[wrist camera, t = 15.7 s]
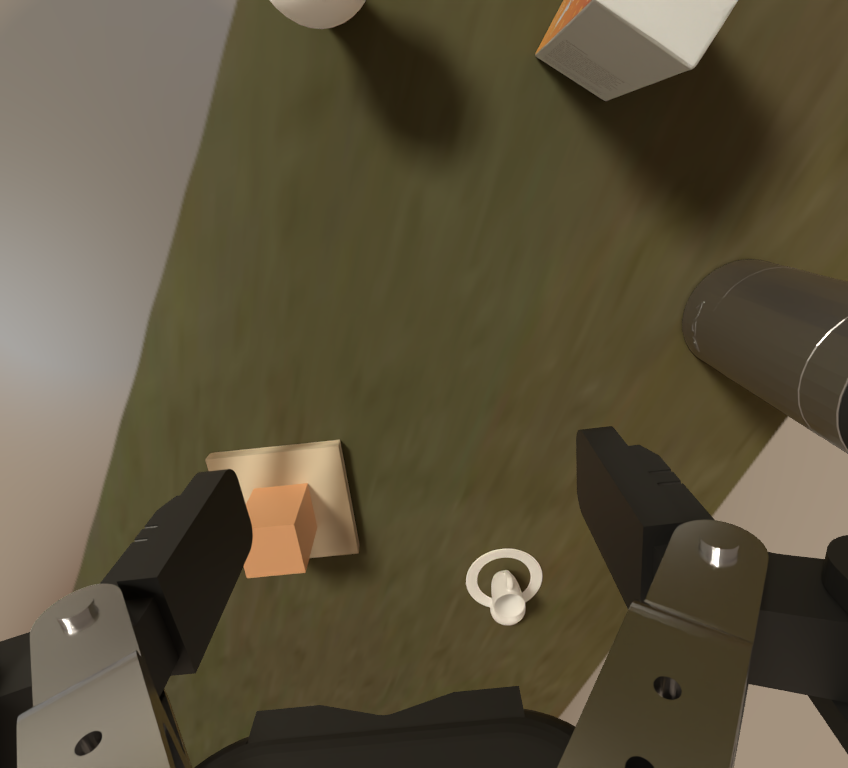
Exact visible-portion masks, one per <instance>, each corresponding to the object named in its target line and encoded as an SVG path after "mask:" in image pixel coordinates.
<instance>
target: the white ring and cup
mask: <svg viewBox="0 0 848 768" xmlns="http://www.w3.org/2000/svg"><path fill="white" fill-rule="evenodd" d="M503 557H509V558H515V559H518V560H520V561H522V562H523V563H524V564H525V565H526V566H527V567H528V568H529V570H530V574H531V580H530V583H529V585H528V587H527V588H526V590H525V591H524V592H521V589H520V586H519V584H518V582H517V580H516V578H515V577H514V576H513V575H512V574H511V573H510V571H509V570H504V571H499V572H497V573H496V574H495V575H494V577H493V579H492V584H491V591H492V598H490V597H488V596H486V595H485V594H483V593H482V592H481V591H480V589H479V587H478V585H477V576H478V573H479V571H480V570H481V568H482V567H483V566H484V565H485V564H487V563H488V562H490V561H492V560H494V559H497V558H503ZM541 583H542V570H541V567H540V565H539V563H538V562H537V561H536V559H535V558H533V557H532V556H531V555H529V554H528V553H526V552H523V551H521V550H517V549H498V550H493V551H490V552H488V553H486V554H484V555H482V556H481V557H479V558H478V559H477V560H476V561H475V562H474V563H473V564H472V565H471V567H470V568H469V570H468V573H467V576H466V585H467V589H468V591H469V593H470V595H471V596H472V597H473V598H474V599H475V600H476V601H477V602H479V603H480V604H482V605H484V606H487V607H490V611H491V615H492V617H493V618H494V620H495V621H497V622H498V623H500V624H503V625H513V624H516V623H518V622H519V621H520V620H521V619H522V618H523V616H524V614H525V602H527V601H528V600H530V599H531V598H532V597H533V596H534V595H535V594H536V593H537V591H538V590H539V588H540V586H541Z"/></svg>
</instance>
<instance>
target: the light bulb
mask: <svg viewBox="0 0 848 768" xmlns="http://www.w3.org/2000/svg"><path fill="white" fill-rule="evenodd" d="M270 1H271V3H272V4H273V5H274V6H275V7H276V8H277V9H278V10H279V11H280V12H281V13H282V14H284V15H285V16H286V17H288V18H289V19H291V20H293V21H294V22H296V23H298V24H300V25H303V26H306V27H309V28H316V29H325V28H333V27H335V26H338V25H340V24H343V23H345V22H346V21H347V20H349V19H350V18H352V17H353V16H354V15H355V14H356V13H357V12H358V11H359V10H360V9H361V7H362V6H363V4H364V3H365V1H366V0H270Z"/></svg>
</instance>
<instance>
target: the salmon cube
mask: <svg viewBox="0 0 848 768" xmlns="http://www.w3.org/2000/svg"><path fill="white" fill-rule="evenodd" d="M246 507H247V510H248V514H249V517H250V520H251V524H252V531H253V540H252V547H251V550H250V553H249V555H248V557H247V559H246V561H245V564H244V569H245V572H246V576H247V578H254V577H265V576H275V575H285V574H295V573H305V572H306V569H307V565H308V561H309V558H310V554H311V550H312V546H313V542H314V539H315V535H316V531H317V523H316V519H315V514H314V510H313V505H312V501H311V496H310V492H309V487H308V483H304V484H294V485H284V486H274V487H264V488H254V489H253V491H252V493H251V495H250V497H249V499H248V501H247V503H246Z"/></svg>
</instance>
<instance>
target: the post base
mask: <svg viewBox="0 0 848 768" xmlns="http://www.w3.org/2000/svg"><path fill="white" fill-rule="evenodd" d="M206 463H207V467H208V470H209V471H216V470H225V469H232V470H233V471H234V472H235V473H236V475H237V477H238V480H239V484H240V487H241V490H242V494H243V497H244V500H245V504H246V503H247V501H248V499H249V497H250V495H251V493H252V491H253V489H254V488H264V487H274V486H284V485H294V484H304V483H308V487H309V492H310V496H311V501H312V505H313V510H314V514H315V519H316V523H317V531H316V535H315V539H314V542H313V546H312V550H311V554H310V558H316V557H326V556H336V555H346V554H356V553H359V546H360V545H359V539H358V534H357V528H356V523H355V518H354V512H353V507H352V502H351V496H350V491H349V485H348V480H347V475H346V469H345V464H344V458H343V453H342V448H341V442H340V440H333V441H323V442H313V443H303V444H294V445H284V446H274V447H265V448H255V449H245V450H235V451H226V452H216V453H210V454H209V455H208V457H207V458H206Z"/></svg>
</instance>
